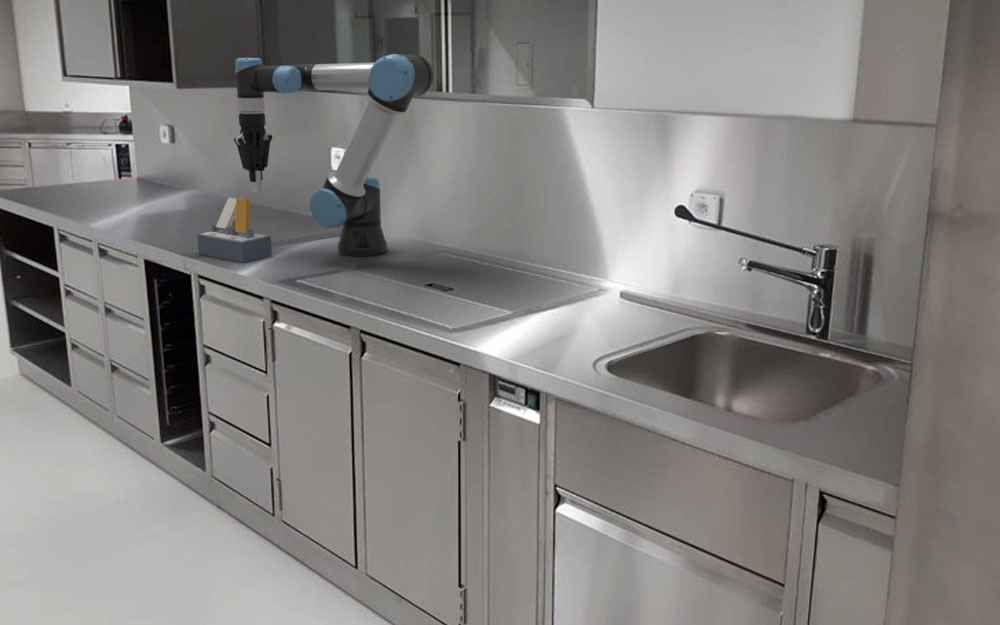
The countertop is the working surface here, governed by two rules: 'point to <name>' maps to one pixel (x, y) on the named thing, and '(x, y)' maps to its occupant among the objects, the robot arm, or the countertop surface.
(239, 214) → the orange lever
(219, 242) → the breaker panel
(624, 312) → the countertop surface
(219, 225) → the ivory lever
